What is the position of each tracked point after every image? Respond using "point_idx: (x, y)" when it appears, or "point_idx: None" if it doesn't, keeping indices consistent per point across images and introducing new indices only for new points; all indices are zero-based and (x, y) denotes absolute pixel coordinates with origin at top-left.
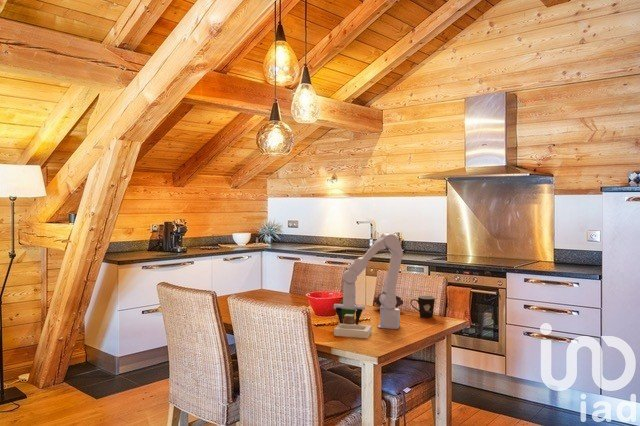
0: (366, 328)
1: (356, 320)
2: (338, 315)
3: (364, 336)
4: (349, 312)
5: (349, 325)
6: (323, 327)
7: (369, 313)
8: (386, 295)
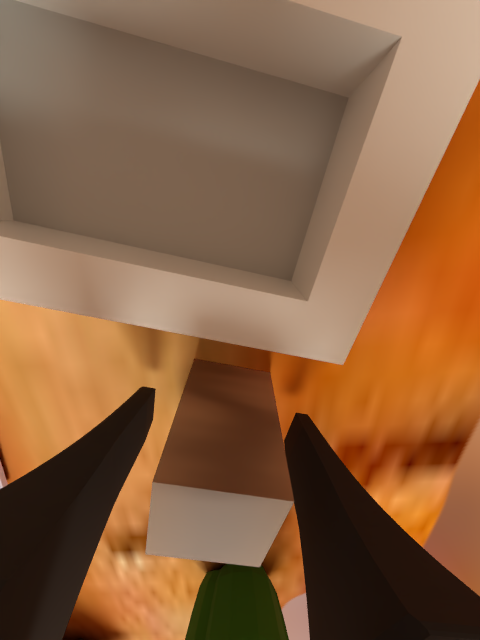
0: None
1: (119, 425)
2: (379, 513)
3: None
4: (226, 611)
5: (208, 278)
6: (446, 391)
7: (133, 608)
8: None
